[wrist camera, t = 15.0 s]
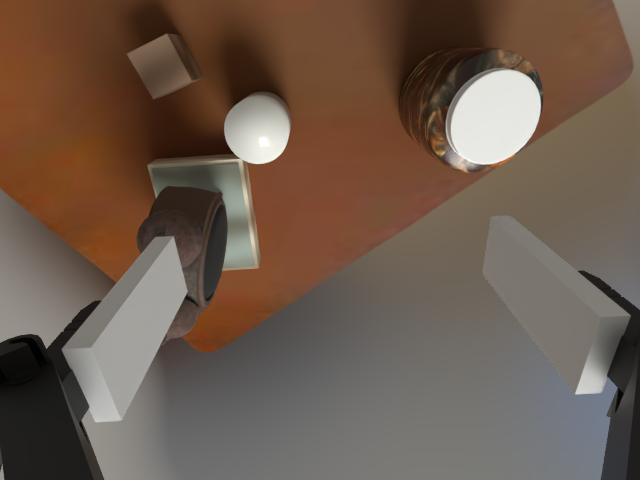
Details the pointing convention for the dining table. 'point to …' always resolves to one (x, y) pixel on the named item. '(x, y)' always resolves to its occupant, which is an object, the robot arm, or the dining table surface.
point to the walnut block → (165, 65)
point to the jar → (472, 106)
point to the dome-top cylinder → (258, 127)
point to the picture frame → (235, 187)
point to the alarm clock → (190, 245)
